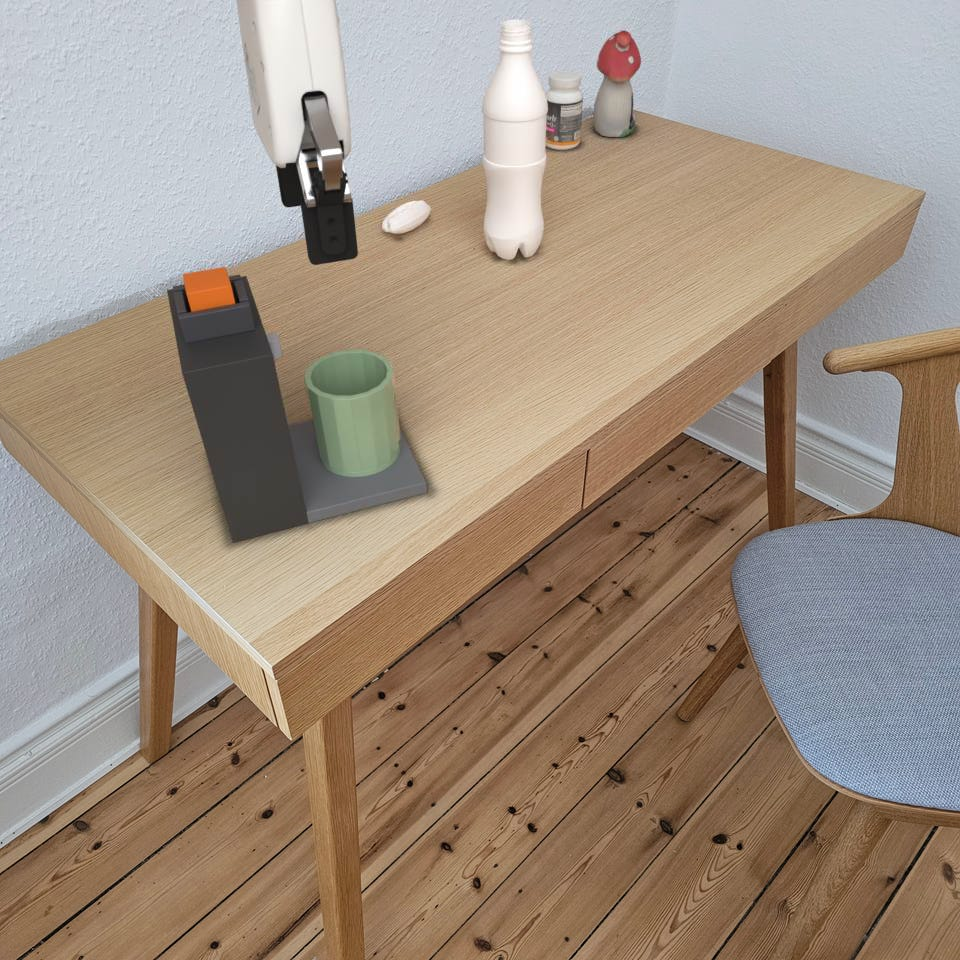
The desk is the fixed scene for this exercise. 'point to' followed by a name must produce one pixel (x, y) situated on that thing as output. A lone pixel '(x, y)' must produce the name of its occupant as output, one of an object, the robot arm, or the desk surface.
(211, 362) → the coffee maker
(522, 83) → the water bottle
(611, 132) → the decorative ornament
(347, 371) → the cup
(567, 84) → the pill bottle
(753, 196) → the desk surface
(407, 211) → the white oval pebble
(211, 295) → the button
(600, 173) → the desk surface
